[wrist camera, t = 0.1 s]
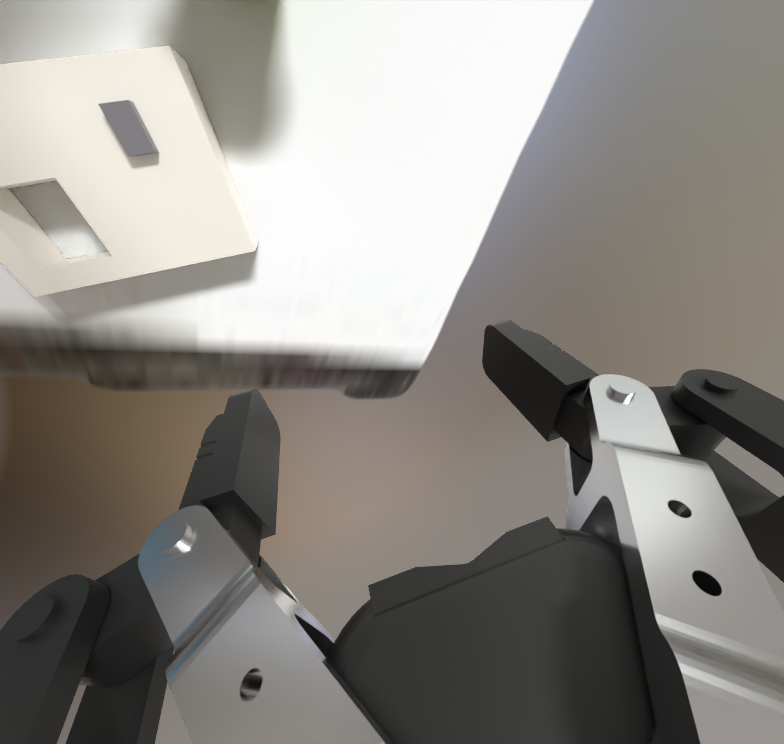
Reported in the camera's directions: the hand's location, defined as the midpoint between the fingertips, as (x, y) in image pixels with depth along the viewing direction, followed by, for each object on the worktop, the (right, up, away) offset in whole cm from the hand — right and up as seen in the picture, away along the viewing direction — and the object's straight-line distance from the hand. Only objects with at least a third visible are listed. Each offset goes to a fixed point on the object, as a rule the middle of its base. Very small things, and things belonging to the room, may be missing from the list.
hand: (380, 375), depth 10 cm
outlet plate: (-25, +17, +16) cm, 35 cm away
